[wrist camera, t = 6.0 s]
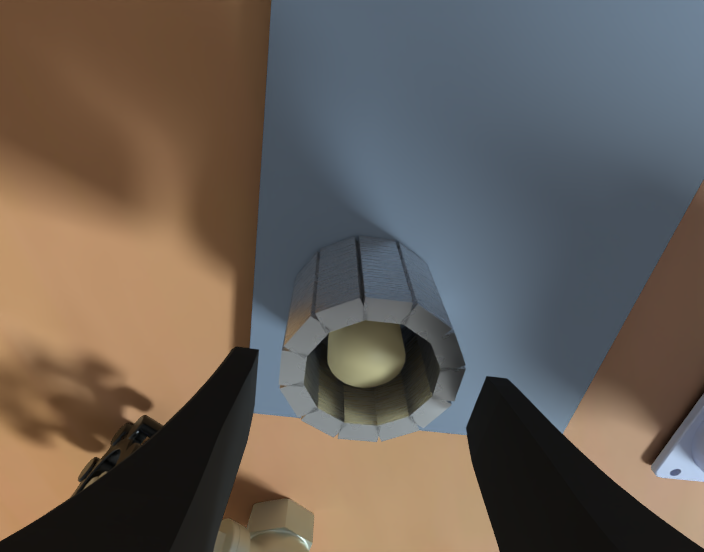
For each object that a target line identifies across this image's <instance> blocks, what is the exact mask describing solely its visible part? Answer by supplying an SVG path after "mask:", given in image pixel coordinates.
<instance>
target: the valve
mask: <svg viewBox="0 0 704 552" xmlns="http://www.w3.org/2000/svg"><path fill="white" fill-rule="evenodd" d="M162 427H163V425H161V424H160V423H158V422H157V421H155V420H153V419H152V418H150V417H149V416H147V415H143V416H141V417H140V418H139V419H138V420H137V421H136V423H135V424H134V425H131V424H130V423H126V424H124V425H123V426H122V427H121V428H120V429H119V430H118V432H117V433H116V434H115V436H114V437H113V439H112V441H111V447H110V448H109V450H108V451H107V452H106V454H105V455H104V456H103V457H102V458H101V459H99V458H97V457H94V458H93V459H92V460H90V462H89V463H88V464H87V465H86V466H85V468H84V469H83V470H82V472H81V473H80V475H79V477H78V481H79V482H81V483H80V484H79V486H78V488H77V489H76V490H75V492H74V493H73V495H72V496H71V497H73V496H74V495H76V494H77V493H79V492H80V491H82V490H83V489H85V488H86V487H88V486H89V485H90V484H92V483H93V482H95V481H96V480H97V479H99V478H100V477H102V476H103V475H104V474H106V473H107V472H108V471H110V470H111V469H112V468H113V467H115V466H116V465H117V464H119V463H120V462H121V461H123V460H124V459H125V458H126V457H128V456H129V455H130V454H131V453H133V452H134V451H135V450H136V449H138V448H139V447H140V446H141V443H142V442H143V441H144V440H145V438H146V437H147V436H148V437H149V438H150V437H152V436H153V435H154V434H155V433H156V432H157V431H158V430H159V429H161V428H162ZM313 527H314V514H313V513H312V512H311V511H309V510H307V509H306V508H304V507H303V506H301V505H299V504H298V503H296V502H295V501H293V500H291V499H286V498H284V499H278V500H272V501H266V502H260V503H256V504H254V505H253V508H252V511H251V515H250V518H249V521H248V524H247V528H246V527H244V526H243V525H241V524H239V523H237V522H236V521H234V520H232V519H230V518H226V519H223V520H222V521H221V524H220V528H219V531H218V535H217V538H216V542H215V546H214V551H213V552H309V550H310V547H311V545H312V542H313Z"/></svg>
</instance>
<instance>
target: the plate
mask: <svg viewBox="0 0 704 552" xmlns="http://www.w3.org/2000/svg"><path fill="white" fill-rule="evenodd" d="M703 179H704V0H272V1H271V17H270V33H269V49H268V65H267V81H266V97H265V113H264V129H263V145H262V161H261V177H260V193H259V209H258V225H257V241H256V256H255V272H254V288H253V304H252V320H251V336H250V348H251V349H259V356H258V370H257V383H256V396H255V407H254V412H253V413H258V414H267V415H277V416H287V417H296V418H301V416H300V417H297V415H296V414H295V412H294V411H293V409H292V408H291V406H290V404H289V403H288V401H287V400H286V398H285V397H284V395H283V393H282V392H281V390H280V385H279V375H280V364H281V353H282V346H283V341H284V336H285V330H286V325H287V319H288V314H289V308H290V303H291V297H292V292H293V287H294V281H295V279H296V276H297V274H298V273H299V272H300V271H301V270H302V268H303V267H304V266H305V265H306V264H307V262H308V261H309V260H310V259H311V258H312V256H313V255H314V254H315V253H316V252H317V251H318V252H320V250H321V248H323V247H326V246H328V245H331V244H334V243H336V242H339V241H342V240H344V239H347V238H350V237H352V236H355V238H356V240H357V243H358V238H359V235H361V236H369V237H376V238H384V239H392V240H395V242H396V244H397V243H398V242H400V243H402V244H403V245H404V246H406V247H407V248H408V249H410V250H411V251H412V252H414V253H415V254H416V255H417V256H419V257H420V258H421V259H423V260H424V261H425V262H426V264H427V265H428V267H429V269H430V272H431V274H432V277H433V279H434V282H435V284H436V287H437V289H438V292H439V294H440V297H441V299H442V302H443V304H444V307H445V309H446V312H447V314H448V317H449V319H450V322H451V324H452V327H453V329H454V332H455V335H456V338H457V340H458V343H459V346H460V349H461V352H462V355H463V358H464V361H465V364H466V365H465V368H466V370H465V373H464V376H463V379H462V381H461V384H460V387H459V390H458V393H457V395H456V398H455V401H451V404H452V405H451V406H450V407H449V408H447V409H446V410H445V411H444V412H443V413H441V414H440V415H439V416H438V417H437V418H435V419H434V420H433V421H432V422H431V423H429V424H428V425H427V426H426V427H425V428H422V427H420V426H419V425H418V426H419V430H422V431H432V432H442V433H451V434H461V435H467V432H466V426H467V423H468V421H469V418H470V416H471V413H472V411H473V408H474V406H475V403H476V401H477V398H478V396H479V393H480V391H481V388H482V386H483V383H484V381H485V378H486V376H491V377H500V378H507V379H508V380H510V381H511V382H512V383H513V384H514V385H515V386H516V387H517V388H518V389H519V390H520V391H521V392H522V393H523V394H524V395H525V396H526V397H527V398H528V399H529V400H530V401H531V402H532V403H533V404H534V406H535V407H536V408H537V409H538V410H539V411H540V412H541V413H542V414H543V415H544V416H545V417H546V418H547V419H548V420H549V421H550V422H551V423H552V424H553V425H554V426H555V427H556V428H557V429H558V430H559V431H560V432H561V433H562V434H563V432H564V430H565V428H566V427H567V425H568V423H569V421H570V419H571V418H572V416H573V414H574V412H575V410H576V409H577V407H578V405H579V403H580V401H581V400H582V398H583V396H584V394H585V392H586V391H587V389H588V387H589V385H590V383H591V382H592V380H593V378H594V376H595V374H596V373H597V371H598V369H599V367H600V365H601V363H602V362H603V360H604V358H605V356H606V354H607V353H608V351H609V349H610V347H611V345H612V344H613V342H614V340H615V338H616V336H617V335H618V333H619V331H620V329H621V327H622V326H623V324H624V322H625V320H626V318H627V317H628V315H629V313H630V311H631V309H632V308H633V306H634V304H635V302H636V300H637V299H638V297H639V295H640V293H641V291H642V289H643V288H644V286H645V284H646V282H647V280H648V279H649V277H650V275H651V273H652V271H653V270H654V268H655V266H656V264H657V262H658V261H659V259H660V257H661V255H662V253H663V252H664V250H665V248H666V246H667V244H668V243H669V241H670V239H671V237H672V235H673V234H674V232H675V230H676V228H677V226H678V225H679V223H680V221H681V219H682V217H683V215H684V214H685V212H686V210H687V208H688V206H689V205H690V203H691V201H692V199H693V197H694V196H695V194H696V192H697V190H698V188H699V187H700V185H701V183H702V181H703ZM404 327H405V325H403V324H395V323H386V322H377V321H368V320H364V321H361V322H358V323H356V324H353V325H350V326H347V327H344V328H341V329H338V330H335V331H332V332H329V336H328V356H327V359H328V365H329V367H330V370H331V371H332V373H333V374H334V375H335V376H336V377H337V378H338V379H339V380H341V381H342V382H344V383H346V384H348V385H351V386H355V387H361V388H370V387H376V386H380V385H383V384H385V383H387V382H389V381H391V380H392V379H393V378H395V377H396V376H397V375H398V374H399V372H400V371H401V370H402V368H403V366H404V363H405V355H406V354H405V348H404V343H403V338H402V333H401V330H402V329H403V328H404Z"/></svg>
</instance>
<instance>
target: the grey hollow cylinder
mask: <svg viewBox="0 0 704 552" xmlns="http://www.w3.org/2000/svg"><path fill="white" fill-rule="evenodd" d="M364 320H368V321H377V322H386V323H395V324H403V325H405V327H404V328H403V329H402V330H401V333H402V338H403V343H404V348H405V354H406V355H405V363H404V366H403V368H402V370H401V371H400V372H399V374H398V375H397V376H396V377H395V378H393V379H392V380H391V381H389V382H387V383H385V384H383V385H380V386H376V387H370V388H361V387H355V386H351V385H348V384H346V383H344V382H342V381H341V380H339V379H338V378H337V377H336V376H335V375H334V374H333V373H332V371H331V370H330V367H329V365H328V359H327V356H328V336H329V332H332V331H335V330H338V329H341V328H344V327H347V326H350V325H353V324H356V323H358V322H361V321H364ZM465 365H466V364H465V361H464V358H463V355H462V352H461V349H460V346H459V343H458V340H457V338H456V335H455V332H454V329H453V327H452V324H451V322H450V319H449V317H448V314H447V312H446V309H445V307H444V304H443V302H442V299H441V297H440V294H439V292H438V289H437V287H436V284H435V282H434V279H433V277H432V274H431V272H430V269H429V267H428V265H427V264H426V262H425V261H424V260H423V259H421V258H420V257H419V256H417V255H416V254H415V253H414V252H412V251H411V250H410V249H408V248H407V247H406V246H404V245H403V244H402V243H400V242H398V243H397V244H396V242H395V240H392V239H384V238H376V237H369V236H361V235H359V238H358V243H357V240H356V238H355V236H352V237H350V238H347V239H344V240H342V241H339V242H336V243H334V244H331V245H328V246H326V247H323V248H321V250H320V252H318V251H317V252H316V253H315V254H314V255H313V256H312V258H311V259H310V260H309V261H308V262H307V264H306V265H305V266H304V267H303V268H302V270H301V271H300V272H299V273H298V274H297V276H296V279H295V281H294V287H293V292H292V297H291V303H290V308H289V314H288V319H287V325H286V330H285V336H284V341H283V346H282V353H281V364H280V375H279V385H280V390H281V392H282V393H283V395H284V397H285V398H286V400H287V401H288V403H289V404H290V406H291V408H292V409H293V411H294V412H295V414H296V415H297V417H300V416H301V420H302V421H303V422H305V423H307V424H309V425H311V426H313V427H315V428H317V429H319V430H320V431H322V432H324V433H326V434H328V435H330V436H332V437H335V436H336V435H337V434H338V439H348V440H360V441H372V442H377V440H378V436H379V437H380V439H381V441H385V440H388V439H392V438H395V437H399V436H402V435H406V434H409V433H412V432H416V431H419V426H420V427H422V428H425V427H426V426H427V425H428V424H429V423H431V422H432V421H433V420H434V419H435V418H437V417H438V416H439V415H440V414H441V413H443V412H444V411H445V410H446V409H447V408H449V407H450V406H451V405H452V404H451V401H455V398H456V395H457V393H458V390H459V387H460V384H461V381H462V379H463V376H464V373H465V370H466V368H465ZM418 425H419V426H418Z"/></svg>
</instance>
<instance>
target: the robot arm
mask: <svg viewBox="0 0 704 552" xmlns="http://www.w3.org/2000/svg"><path fill="white" fill-rule="evenodd" d="M258 356H259V349H251V348H243V347H235V348H234V349H232V350H231V351H230V353H229V354H228V356H227V357H226V358H225V360H224V361H223V362H222V364H221V365H220V366H219V367H218V369H217V370H216V371H215V372H214V373H213V375H212V376H211V377H210V378H209V379H208V380H207V382H206V383H205V384H204V385H203V386H202V387H201V388H200V389H199V390H198V392H197V393H196V394H195V395H194V396H193V397H192V398H191V399H190V400H189V401H188V402H187V403H186V404H185V405H184V406H183V407H182V408H181V409H180V410H179V411H178V412H177V413H176V414H175V415H174V416H173V417H172V418H171V419H170V420H169V421H168V422H167V423H166V424H165V425H164V426H163V427H162V428H161V429H159V430H158V431H157V432H156V433H155V434H154V435H153V436H152V437H150V438H149V439H148V440H147V441H146V442H145V443H143V444H142V445H141V446H140V447H139V448H138V449H136V450H135V451H134V452H133V453H131V454H130V455H129V456H128V457H126V458H125V459H124V460H123V461H121V462H120V463H119V464H117V465H116V466H115V467H113V468H112V469H111V470H110V471H108V472H107V473H106V474H104V475H103V476H102V477H100V478H99V479H97V480H96V481H95V482H93V483H92V484H90V485H89V486H88V487H86V488H85V489H83V490H82V491H80V492H79V493H77V494H76V495H74V496H73V497H71V498H70V499H68V500H67V501H65V502H64V503H62V504H61V505H59V506H57V507H56V508H54V509H53V510H51V511H50V512H48V513H47V514H45V515H44V516H42V517H41V518H39V519H37V520H36V521H34V522H33V523H31V524H29V525H28V526H26V527H24V528H23V529H21V530H19V531H17V532H16V533H14V534H12V535H10V536H9V537H7V538H5V539H4V540H2V541H0V552H213V551H214V546H215V542H216V538H217V535H218V531H219V528H220V524H221V521H222V518H223V515H224V512H225V509H226V506H227V502H228V499H229V496H230V493H231V490H232V487H233V484H234V481H235V478H236V475H237V472H238V469H239V465H240V462H241V459H242V456H243V453H244V450H245V447H246V444H247V440H248V436H249V431H250V426H251V421H252V417H253V412H254V407H255V396H256V383H257V370H258ZM466 432H467V438H468V444H469V449H470V455H471V460H472V464H473V467H474V471H475V474H476V477H477V481H478V484H479V487H480V490H481V493H482V497H483V500H484V503H485V506H486V509H487V512H488V515H489V519H490V522H491V525H492V528H493V531H494V534H495V537H496V540H497V544H498V547H499V551H500V552H704V549H703V548H702V547H700V546H699V545H697V544H696V543H694V542H693V541H691V540H690V539H689V538H687V537H686V536H684V535H683V534H682V533H680V532H679V531H677V530H676V529H675V528H673V527H672V526H671V525H669V524H668V523H666V522H665V521H664V520H662V519H661V518H659V517H658V516H657V515H655V514H654V513H653V512H652V511H650V510H649V509H648V508H646V507H645V506H644V505H642V504H641V503H640V502H639V501H637V500H636V499H635V498H634V497H633V496H631V495H630V494H629V493H628V492H626V491H625V490H624V489H623V488H621V487H620V486H619V485H618V484H617V483H615V482H614V481H613V480H612V479H611V478H609V477H608V476H607V475H606V474H605V473H604V472H603V471H601V470H600V469H599V468H598V467H597V466H596V465H595V464H594V463H593V462H592V461H590V460H589V459H588V458H587V457H586V456H585V455H584V454H583V453H582V452H581V451H580V450H579V449H578V448H576V447H575V446H574V445H573V444H572V443H571V442H570V441H569V440H568V439H567V438H566V437H565V436H564V435H563V434H562V433H561V432H560V431H559V430H558V429H557V428H556V427H555V426H554V425H553V424H552V423H551V422H550V421H549V420H548V419H547V418H546V417H545V416H544V415H543V414H542V413H541V412H540V411H539V410H538V409H537V408H536V407H535V406H534V404H533V403H532V402H531V401H530V400H529V399H528V398H527V397H526V396H525V395H524V394H523V393H522V392H521V391H520V390H519V389H518V388H517V387H516V386H515V385H514V384H513V383H512V382H511V381H510V380H508V379H507V378H500V377H491V376H486V378H485V381H484V383H483V386H482V388H481V391H480V393H479V396H478V398H477V401H476V403H475V406H474V408H473V411H472V413H471V416H470V418H469V421H468V423H467V426H466ZM651 469H652V471H653V472H654V474H655V475H656V476H657V477H661V478H672V479H682V480H692V481H702V482H704V394H703V395H702V396H701V398H700V399H699V400H698V402H697V403H696V405H695V406H694V407H693V409H692V410H691V411H690V413H689V414H688V416H687V417H686V418H685V420H684V421H683V422H682V424H681V425H680V427H679V428H678V429H677V431H676V432H675V433H674V435H673V436H672V438H671V439H670V440H669V442H668V443H667V444H666V446H665V447H664V449H663V450H662V451H661V453H660V454H659V456H658V457H657V458H656V460H655V461H654V462H653V464H652V466H651Z"/></svg>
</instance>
